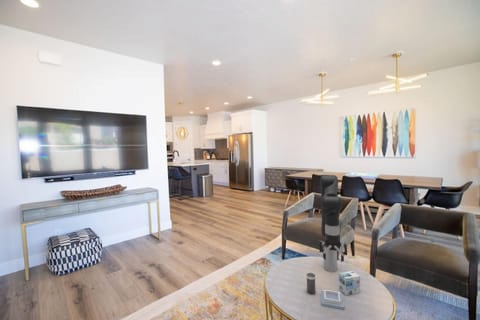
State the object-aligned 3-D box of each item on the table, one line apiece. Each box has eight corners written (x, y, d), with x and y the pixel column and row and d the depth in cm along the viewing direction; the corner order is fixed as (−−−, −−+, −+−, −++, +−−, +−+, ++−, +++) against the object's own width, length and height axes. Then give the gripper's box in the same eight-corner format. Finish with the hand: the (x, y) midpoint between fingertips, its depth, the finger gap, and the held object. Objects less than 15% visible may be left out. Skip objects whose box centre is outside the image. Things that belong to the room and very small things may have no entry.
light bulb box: (345, 295, 136) (345, 278, 135) (338, 288, 142) (338, 272, 142) (360, 292, 138) (360, 276, 137) (353, 286, 145) (353, 270, 144)
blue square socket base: (321, 292, 139) (321, 287, 139) (342, 296, 135) (341, 290, 135) (321, 305, 128) (321, 299, 128) (344, 310, 124) (344, 304, 124)
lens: (307, 288, 144) (306, 272, 143) (315, 290, 142) (315, 273, 141) (306, 293, 139) (306, 276, 138) (315, 295, 137) (315, 278, 136)
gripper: (346, 230, 123) (346, 258, 124) (318, 228, 128) (319, 255, 129) (347, 236, 116) (348, 265, 117) (318, 233, 121) (319, 262, 122)
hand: (333, 260), depth 123 cm, fingers open, 8 cm apart
